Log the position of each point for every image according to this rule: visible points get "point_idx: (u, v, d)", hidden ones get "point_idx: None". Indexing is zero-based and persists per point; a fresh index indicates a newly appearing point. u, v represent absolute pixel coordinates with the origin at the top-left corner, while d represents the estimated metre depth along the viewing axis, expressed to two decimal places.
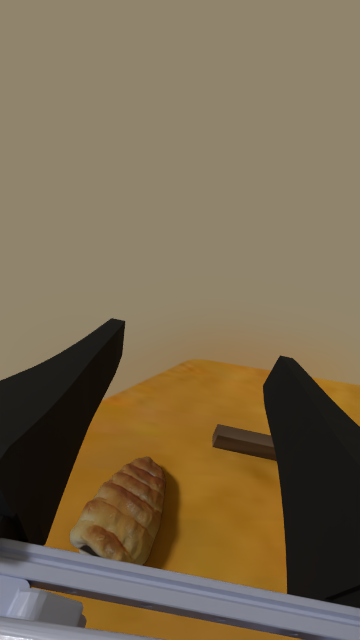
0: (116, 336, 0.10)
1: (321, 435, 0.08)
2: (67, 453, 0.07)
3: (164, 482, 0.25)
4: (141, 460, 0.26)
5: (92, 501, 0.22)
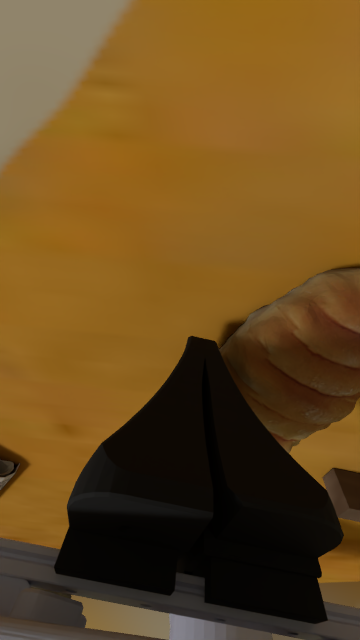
0: None
1: (207, 410, 0.07)
2: None
3: None
4: (352, 299, 0.09)
5: None
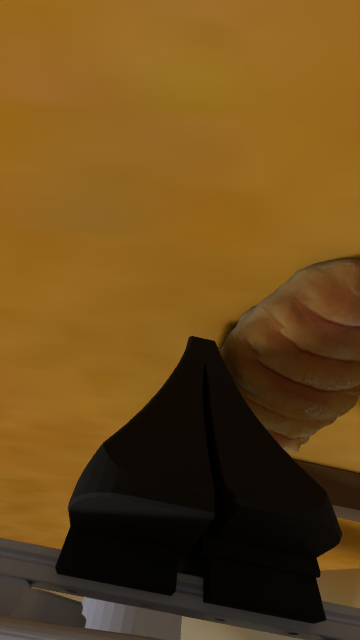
0: None
1: (206, 410, 0.07)
2: None
3: None
4: (334, 292, 0.08)
5: None
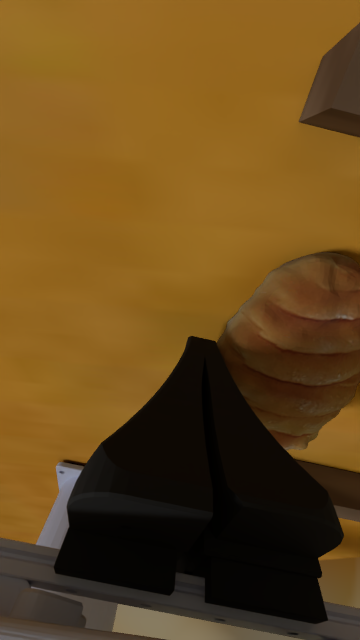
0: None
1: (207, 410, 0.07)
2: None
3: None
4: (303, 290, 0.09)
5: None
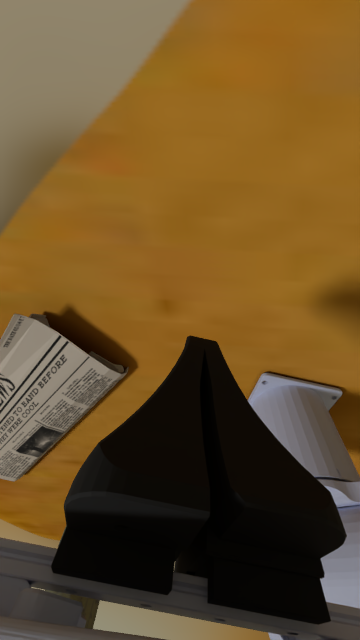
0: None
1: (209, 411, 0.07)
2: None
3: None
4: None
5: None
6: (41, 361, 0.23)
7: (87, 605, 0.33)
